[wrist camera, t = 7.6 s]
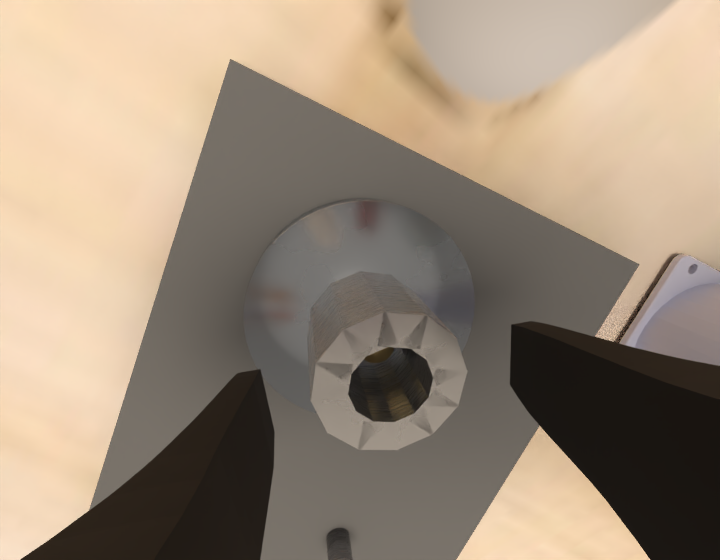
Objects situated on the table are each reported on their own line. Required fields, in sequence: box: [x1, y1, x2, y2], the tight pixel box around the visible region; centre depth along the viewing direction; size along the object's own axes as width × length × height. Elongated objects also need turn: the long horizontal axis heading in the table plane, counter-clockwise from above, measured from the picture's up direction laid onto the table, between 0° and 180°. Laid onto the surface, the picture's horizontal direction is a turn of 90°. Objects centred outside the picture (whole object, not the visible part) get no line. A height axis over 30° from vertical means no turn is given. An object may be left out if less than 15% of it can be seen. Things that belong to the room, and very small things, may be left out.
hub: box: [244, 198, 475, 413], centre depth 13 cm, size 9×9×3 cm
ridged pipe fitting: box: [307, 271, 468, 450], centre depth 12 cm, size 4×4×4 cm
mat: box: [89, 59, 639, 560], centre depth 17 cm, size 19×25×1 cm
